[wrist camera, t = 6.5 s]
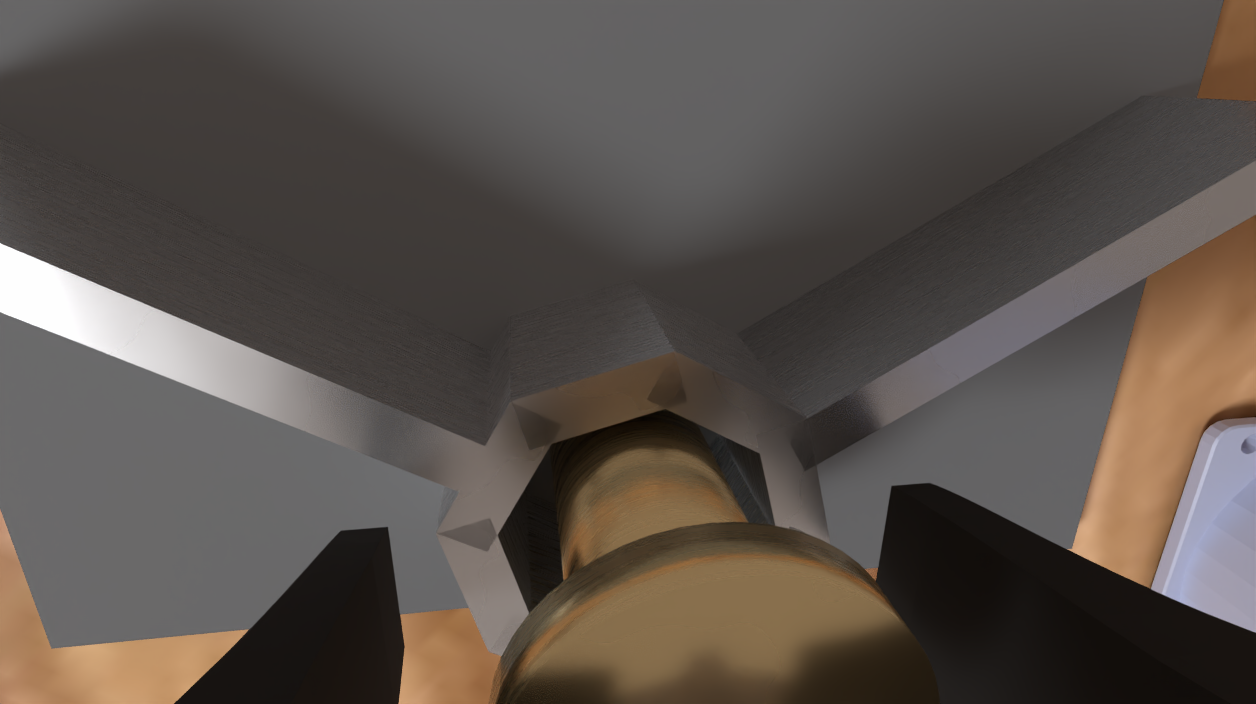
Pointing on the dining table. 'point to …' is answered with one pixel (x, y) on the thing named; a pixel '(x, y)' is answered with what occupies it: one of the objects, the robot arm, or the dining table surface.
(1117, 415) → the dining table surface
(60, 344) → the mat
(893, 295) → the steel hinge
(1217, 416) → the dining table surface
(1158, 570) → the robot arm
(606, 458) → the hinge pin
